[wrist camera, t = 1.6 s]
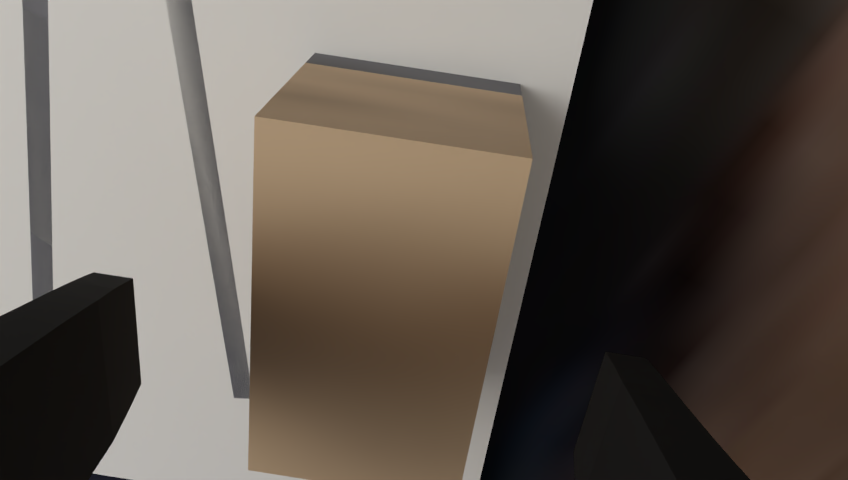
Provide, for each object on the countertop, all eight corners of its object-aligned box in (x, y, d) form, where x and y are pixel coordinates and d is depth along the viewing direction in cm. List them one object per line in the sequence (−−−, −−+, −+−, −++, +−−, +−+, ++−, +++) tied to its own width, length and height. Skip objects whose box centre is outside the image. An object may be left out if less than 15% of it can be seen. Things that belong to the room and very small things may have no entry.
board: (468, 497, 20) (467, 532, 19) (-340, 371, 21) (-385, 398, 19) (608, -111, 13) (618, -110, 12) (-667, -303, 13) (-769, -319, 12)
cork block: (462, 369, 17) (456, 502, 13) (298, 344, 17) (248, 469, 13) (520, 84, 13) (532, 158, 10) (314, 52, 13) (254, 116, 10)
